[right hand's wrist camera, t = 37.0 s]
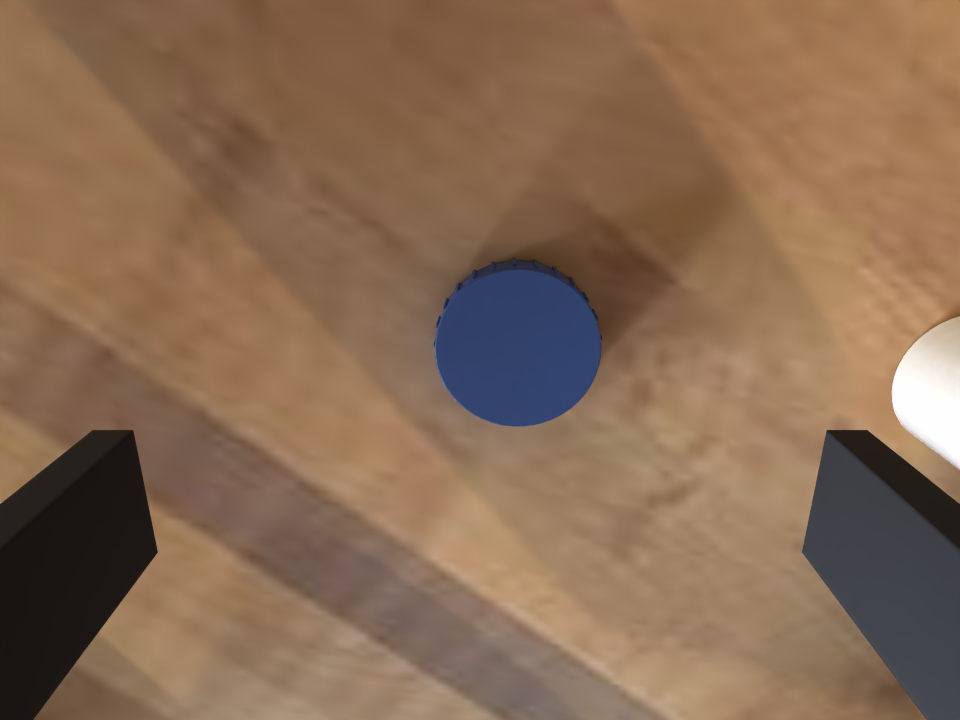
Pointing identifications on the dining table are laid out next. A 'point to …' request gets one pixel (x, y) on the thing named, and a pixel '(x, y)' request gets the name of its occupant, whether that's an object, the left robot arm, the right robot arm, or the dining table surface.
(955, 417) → the cream cylinder
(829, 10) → the dining table surface
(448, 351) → the lid
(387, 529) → the dining table surface
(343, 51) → the dining table surface
